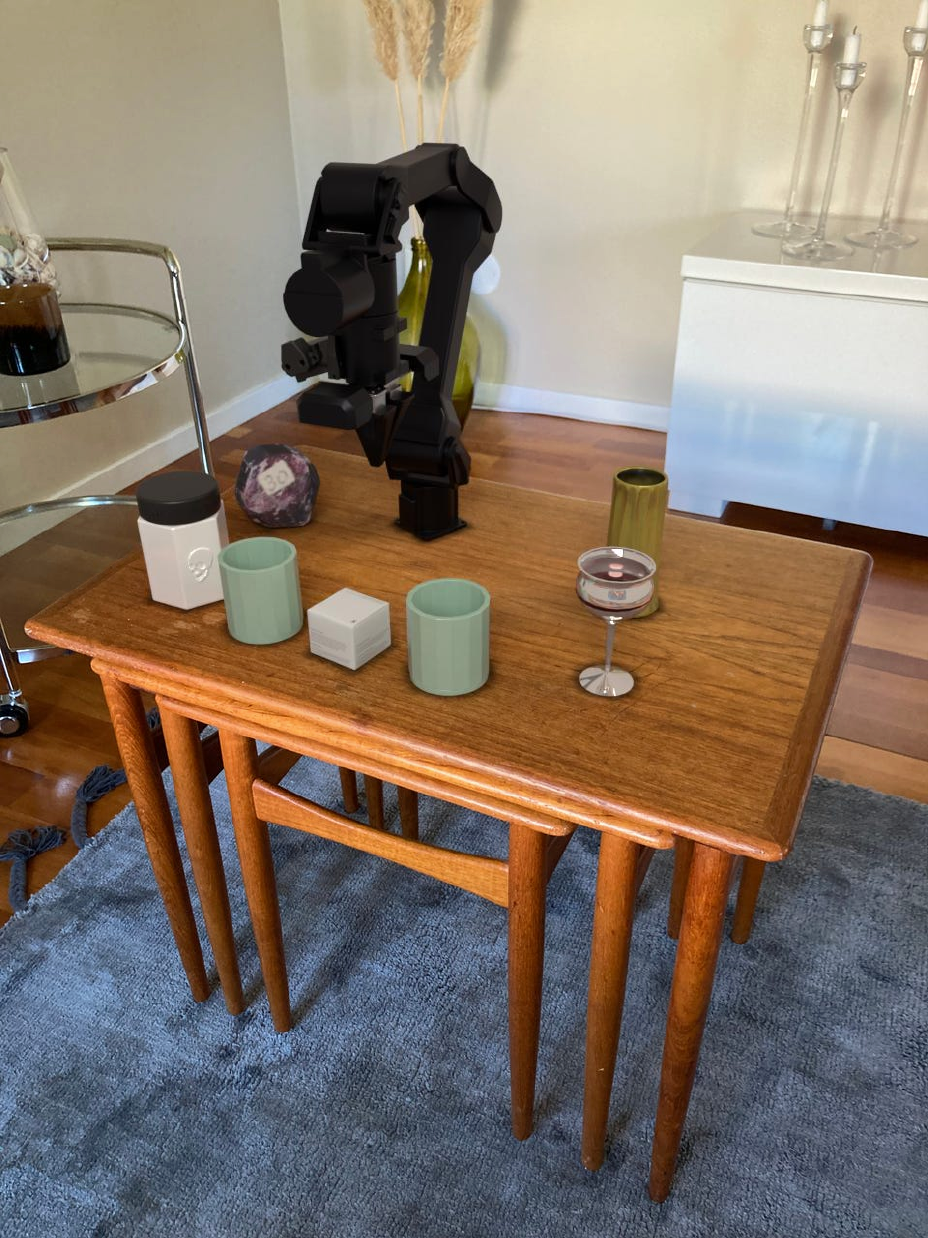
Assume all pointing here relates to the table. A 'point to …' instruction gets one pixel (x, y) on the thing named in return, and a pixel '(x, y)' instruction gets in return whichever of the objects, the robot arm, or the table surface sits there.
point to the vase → (639, 516)
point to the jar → (182, 537)
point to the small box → (349, 628)
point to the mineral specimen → (277, 486)
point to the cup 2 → (448, 636)
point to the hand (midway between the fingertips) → (376, 465)
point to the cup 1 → (261, 589)
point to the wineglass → (613, 605)
